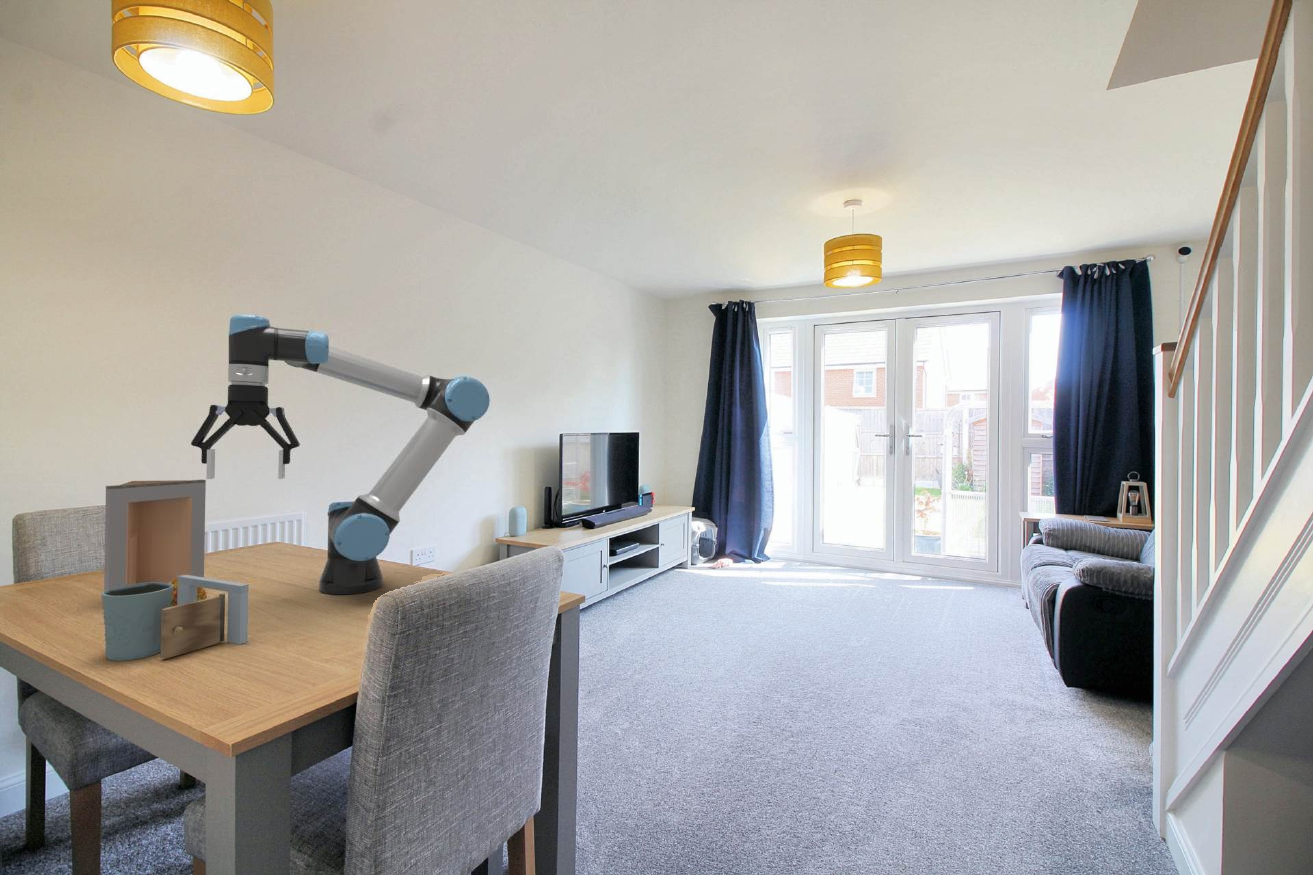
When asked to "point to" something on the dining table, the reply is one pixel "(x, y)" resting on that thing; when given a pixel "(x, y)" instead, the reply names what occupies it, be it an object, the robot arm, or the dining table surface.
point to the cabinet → (154, 531)
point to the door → (192, 626)
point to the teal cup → (134, 619)
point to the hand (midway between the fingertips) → (246, 478)
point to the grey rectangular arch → (236, 602)
